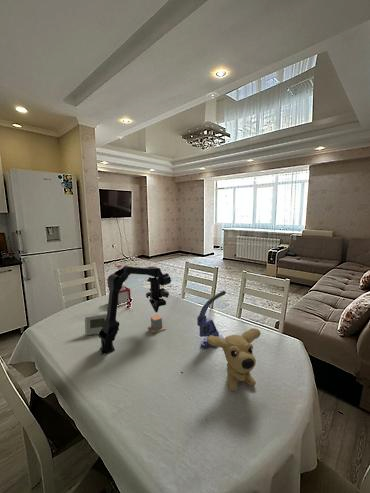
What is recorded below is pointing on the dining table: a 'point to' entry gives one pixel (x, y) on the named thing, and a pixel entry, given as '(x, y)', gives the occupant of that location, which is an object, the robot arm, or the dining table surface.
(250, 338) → the toy
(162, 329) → the tan piece
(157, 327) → the grey-topped salmon cube
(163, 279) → the robot arm
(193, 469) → the dining table surface
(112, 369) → the dining table surface
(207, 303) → the hand press
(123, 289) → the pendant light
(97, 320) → the digital clock
